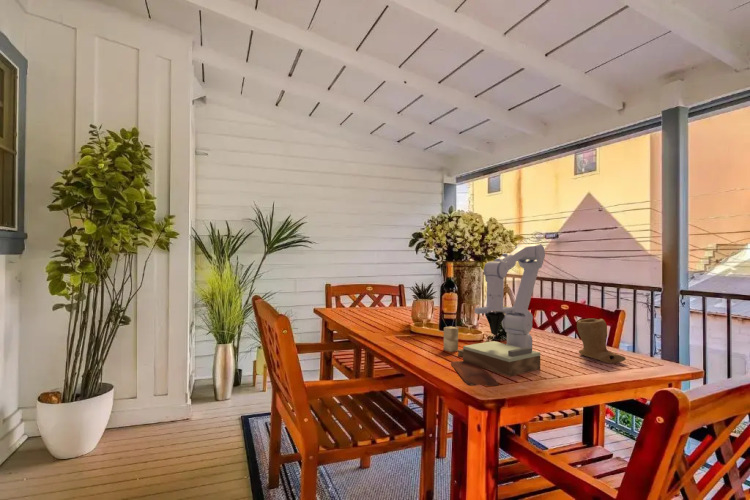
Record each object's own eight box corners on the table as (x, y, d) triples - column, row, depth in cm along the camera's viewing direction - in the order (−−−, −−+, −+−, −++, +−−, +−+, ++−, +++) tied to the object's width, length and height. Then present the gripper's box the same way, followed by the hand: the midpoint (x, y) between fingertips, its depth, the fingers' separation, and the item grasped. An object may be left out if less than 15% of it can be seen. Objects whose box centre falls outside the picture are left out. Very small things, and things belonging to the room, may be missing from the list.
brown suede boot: (569, 354, 158) (570, 315, 158) (597, 353, 159) (598, 315, 159) (596, 365, 143) (596, 322, 143) (626, 364, 144) (627, 322, 144)
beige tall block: (450, 348, 165) (451, 326, 165) (457, 350, 161) (458, 328, 161) (443, 349, 162) (443, 327, 162) (450, 351, 159) (450, 329, 159)
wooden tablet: (501, 388, 120) (501, 382, 120) (467, 387, 119) (467, 382, 119) (475, 362, 146) (475, 358, 146) (447, 362, 146) (447, 357, 146)
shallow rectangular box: (478, 351, 160) (478, 340, 160) (540, 369, 137) (540, 355, 137) (448, 357, 151) (449, 344, 151) (509, 376, 128) (509, 362, 128)
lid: (493, 343, 154) (493, 336, 154) (540, 355, 137) (540, 347, 137) (463, 348, 145) (463, 341, 145) (509, 362, 128) (509, 353, 128)
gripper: (507, 294, 149) (507, 331, 149) (471, 294, 146) (470, 332, 146) (518, 296, 142) (517, 335, 142) (479, 296, 139) (479, 336, 139)
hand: (494, 333), depth 143 cm, fingers closed
